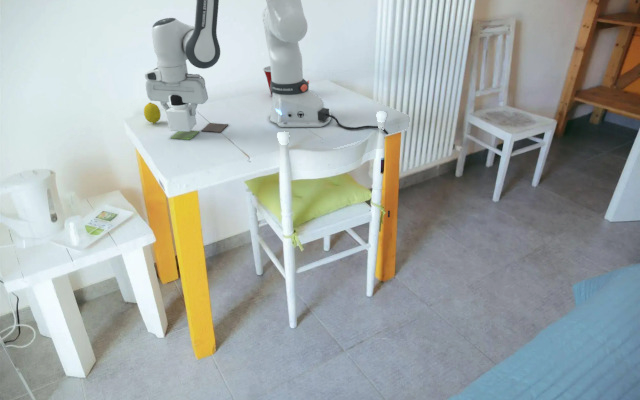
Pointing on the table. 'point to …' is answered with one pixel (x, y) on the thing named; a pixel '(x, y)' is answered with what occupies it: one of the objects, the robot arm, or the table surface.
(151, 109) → the lemon
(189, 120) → the medicine bottle
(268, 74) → the plastic cup
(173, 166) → the table surface
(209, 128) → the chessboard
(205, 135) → the table surface
